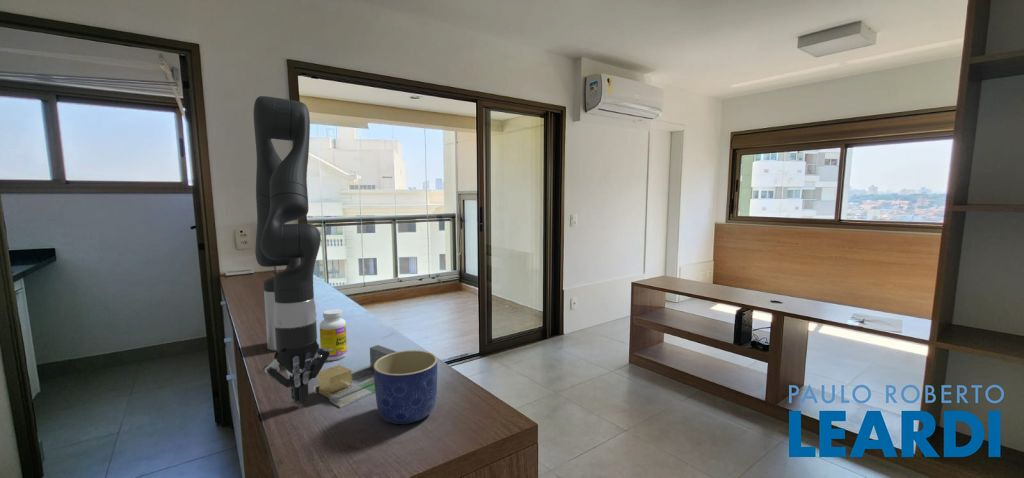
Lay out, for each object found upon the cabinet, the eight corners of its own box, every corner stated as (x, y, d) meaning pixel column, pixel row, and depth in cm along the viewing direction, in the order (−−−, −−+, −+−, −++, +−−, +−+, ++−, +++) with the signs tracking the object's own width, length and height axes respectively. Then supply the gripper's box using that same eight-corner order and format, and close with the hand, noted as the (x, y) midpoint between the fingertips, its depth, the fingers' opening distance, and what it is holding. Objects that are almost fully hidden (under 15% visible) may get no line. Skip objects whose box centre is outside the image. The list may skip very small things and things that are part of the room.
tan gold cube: (318, 392, 89) (317, 372, 89) (339, 384, 93) (339, 364, 93) (339, 404, 84) (338, 382, 84) (360, 395, 88) (360, 374, 88)
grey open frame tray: (313, 392, 90) (312, 367, 89) (378, 367, 103) (378, 345, 103) (340, 407, 83) (338, 379, 83) (405, 378, 97) (405, 354, 96)
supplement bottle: (337, 362, 106) (335, 315, 105) (315, 360, 108) (313, 314, 107) (352, 353, 113) (350, 308, 112) (331, 351, 114) (329, 307, 113)
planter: (405, 438, 73) (404, 380, 72) (361, 418, 79) (359, 365, 78) (450, 408, 83) (450, 357, 82) (408, 393, 90) (407, 346, 89)
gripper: (318, 310, 89) (321, 384, 91) (252, 325, 79) (257, 408, 81) (336, 316, 85) (339, 394, 87) (268, 332, 74) (274, 421, 76)
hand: (300, 401), depth 84 cm, fingers closed
